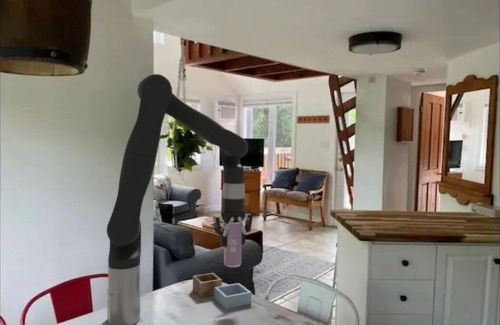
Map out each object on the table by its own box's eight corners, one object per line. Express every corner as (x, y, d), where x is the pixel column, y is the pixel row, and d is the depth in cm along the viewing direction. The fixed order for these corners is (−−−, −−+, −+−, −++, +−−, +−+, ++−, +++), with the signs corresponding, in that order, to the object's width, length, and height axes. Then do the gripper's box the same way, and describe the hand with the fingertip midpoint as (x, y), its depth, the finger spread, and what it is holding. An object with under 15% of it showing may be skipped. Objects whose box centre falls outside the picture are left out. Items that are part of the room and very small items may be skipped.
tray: (225, 311, 122) (225, 297, 122) (214, 300, 131) (214, 287, 130) (251, 305, 127) (251, 292, 126) (238, 295, 135) (239, 283, 135)
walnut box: (200, 300, 131) (200, 283, 130) (192, 292, 138) (192, 275, 137) (221, 296, 134) (221, 279, 134) (213, 288, 141) (213, 272, 141)
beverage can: (242, 262, 131) (243, 219, 130) (240, 268, 125) (240, 223, 124) (225, 261, 131) (225, 219, 130) (222, 267, 125) (223, 222, 125)
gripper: (218, 199, 120) (217, 251, 121) (257, 196, 127) (256, 246, 128) (209, 196, 127) (209, 245, 128) (247, 194, 134) (246, 240, 134)
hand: (232, 245), depth 128 cm, fingers closed on beverage can, 6 cm apart
